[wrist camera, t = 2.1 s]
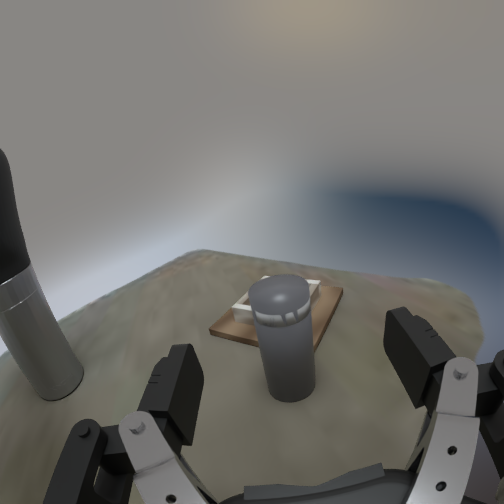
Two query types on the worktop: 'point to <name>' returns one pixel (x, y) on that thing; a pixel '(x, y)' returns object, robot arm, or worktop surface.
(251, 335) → the mount board
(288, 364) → the dark grey cylinder
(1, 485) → the worktop surface
